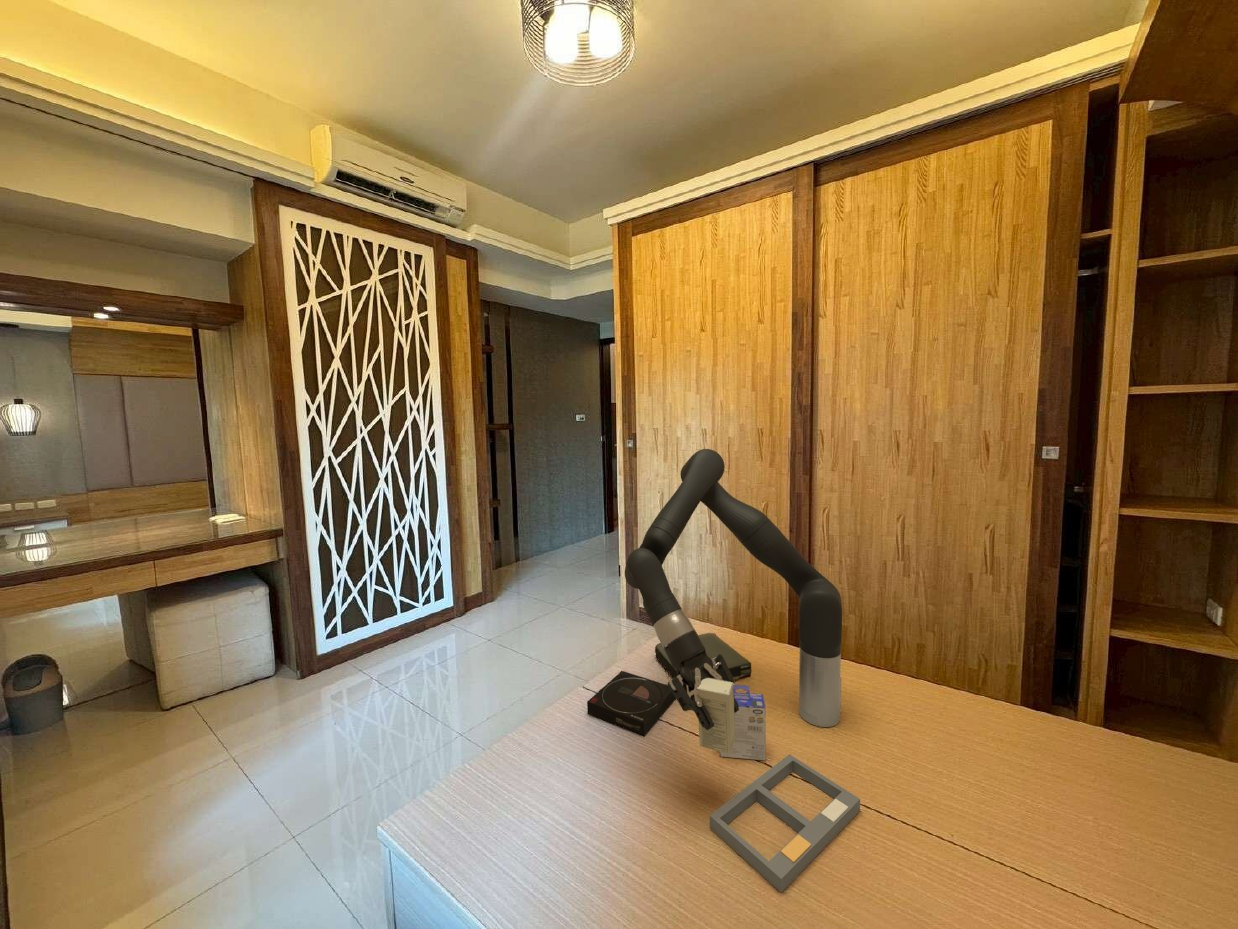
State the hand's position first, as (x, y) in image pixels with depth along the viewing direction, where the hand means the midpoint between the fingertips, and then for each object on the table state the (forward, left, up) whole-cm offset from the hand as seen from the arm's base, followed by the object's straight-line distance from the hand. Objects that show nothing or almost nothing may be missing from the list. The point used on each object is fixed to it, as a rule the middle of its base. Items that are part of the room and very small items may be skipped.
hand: (723, 720), depth 90 cm
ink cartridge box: (-14, -7, -18) cm, 24 cm away
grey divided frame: (-6, +9, -17) cm, 21 cm away
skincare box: (0, -2, -6) cm, 6 cm away
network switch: (-32, -37, -18) cm, 52 cm away
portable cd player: (-5, -35, -18) cm, 40 cm away
